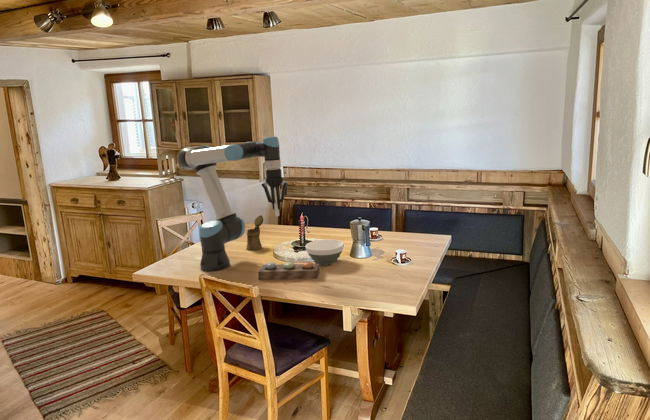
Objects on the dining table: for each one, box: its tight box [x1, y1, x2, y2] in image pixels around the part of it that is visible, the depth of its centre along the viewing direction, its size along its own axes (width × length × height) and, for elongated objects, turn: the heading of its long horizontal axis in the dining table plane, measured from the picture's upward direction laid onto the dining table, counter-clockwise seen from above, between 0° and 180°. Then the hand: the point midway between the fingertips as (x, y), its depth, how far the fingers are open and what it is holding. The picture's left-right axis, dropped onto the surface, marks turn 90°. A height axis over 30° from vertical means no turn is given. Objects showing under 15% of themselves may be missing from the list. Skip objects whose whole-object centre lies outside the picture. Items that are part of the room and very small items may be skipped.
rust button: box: [302, 261, 314, 269], centre depth 222 cm, size 5×5×4 cm
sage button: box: [283, 261, 295, 269], centre depth 223 cm, size 5×5×4 cm
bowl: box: [305, 238, 345, 267], centre depth 239 cm, size 20×20×10 cm
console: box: [257, 263, 321, 281], centre depth 223 cm, size 28×10×4 cm, turn 83°
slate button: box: [264, 262, 277, 270], centre depth 224 cm, size 5×5×4 cm
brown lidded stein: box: [246, 215, 264, 251], centre depth 274 cm, size 9×14×18 cm, turn 148°
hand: (277, 215), depth 233 cm, fingers closed
